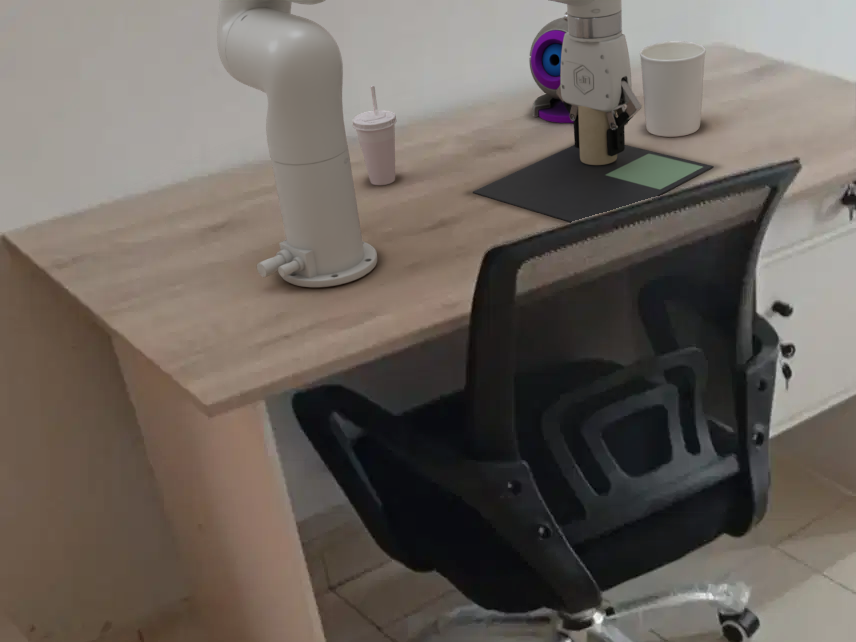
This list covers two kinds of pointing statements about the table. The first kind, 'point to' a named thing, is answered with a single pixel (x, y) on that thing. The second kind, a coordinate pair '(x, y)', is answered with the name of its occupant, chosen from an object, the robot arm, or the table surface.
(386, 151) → the smoothie
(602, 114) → the candle
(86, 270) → the table surface
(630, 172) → the desk pad
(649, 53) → the candle holder
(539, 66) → the webcam
